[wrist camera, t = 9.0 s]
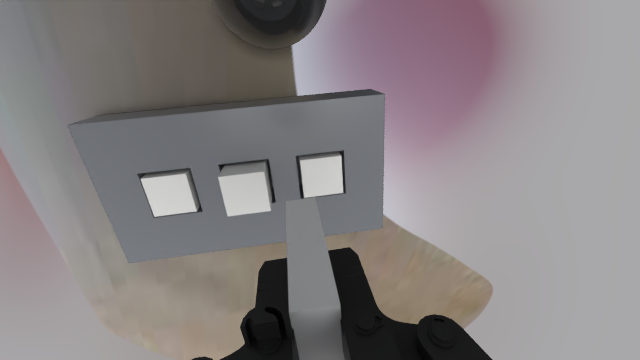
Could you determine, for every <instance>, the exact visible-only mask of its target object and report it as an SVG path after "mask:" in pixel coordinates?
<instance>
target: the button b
mask: <svg viewBox="0 0 640 360" xmlns="http://www.w3.org/2000/svg"><path fill="white" fill-rule="evenodd" d="M218 180H219V184H220V188H221V192H222V196H223V200H224V204H225V208H226V212H227V216H235V215H243V214H251V213H259V212H266V211H271V203H272V188H271V182H270V176H269V170H268V164H267V159H263V160H254V161H245V162H237V163H228V164H225V165H224V167H223V169H222V170H221V172H220V174H219V176H218Z"/></svg>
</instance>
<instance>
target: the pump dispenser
mask: <svg viewBox="0 0 640 360" xmlns="http://www.w3.org/2000/svg"><path fill="white" fill-rule="evenodd" d="M211 2H212V4H213V6H214V8H215V10H216V12H217V13H218V15H219V16H220V18H221V19H222V21H223V22H224V23H225V24H226V25H227V27H228V28H229V29H230V30H231V31H232V32H234V33H235V34H236V35H237V36H239V37H240V38H241V39H243V40H245V41H246V42H248V43H250V44H253V45H255V46H258V47H262V48H269V49H277V48H283V47H287V46H290V45H293V44H295V43H297V42H298V41H300V40H301V39H303V38H304V37H305V36H306V35H308V34H309V33H310V32H311V30H312V29H313V28H314V27H315V25H316V24H317V22H318V20H319V19H320V17H321V15H322V12H323V10H324V7H325V4H326V0H211Z"/></svg>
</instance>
